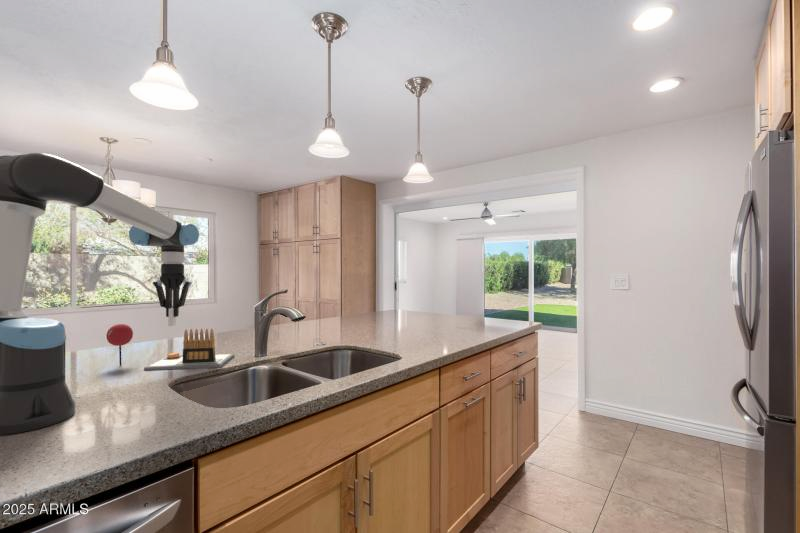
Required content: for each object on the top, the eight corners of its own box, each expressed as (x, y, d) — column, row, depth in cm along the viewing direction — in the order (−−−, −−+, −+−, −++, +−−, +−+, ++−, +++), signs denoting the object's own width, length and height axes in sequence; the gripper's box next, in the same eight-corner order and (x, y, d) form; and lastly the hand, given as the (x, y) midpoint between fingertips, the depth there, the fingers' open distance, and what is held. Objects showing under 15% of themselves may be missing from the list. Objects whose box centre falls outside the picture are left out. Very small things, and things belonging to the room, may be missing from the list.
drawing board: (220, 367, 132) (220, 363, 132) (144, 370, 129) (144, 366, 129) (234, 356, 148) (234, 353, 148) (166, 358, 144) (166, 355, 144)
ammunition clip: (215, 360, 136) (215, 328, 136) (213, 361, 135) (213, 328, 135) (184, 361, 135) (184, 328, 135) (182, 363, 133) (182, 329, 133)
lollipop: (110, 364, 137) (109, 323, 137) (135, 361, 140) (135, 322, 140) (103, 369, 130) (103, 326, 130) (130, 366, 133) (130, 325, 133)
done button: (176, 358, 140) (176, 355, 140) (165, 358, 139) (165, 355, 139) (181, 355, 144) (181, 352, 144) (170, 356, 143) (170, 352, 143)
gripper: (195, 263, 146) (194, 323, 146) (159, 263, 144) (158, 324, 144) (186, 263, 139) (186, 326, 138) (148, 263, 137) (148, 327, 137)
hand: (172, 325), depth 141 cm, fingers closed
